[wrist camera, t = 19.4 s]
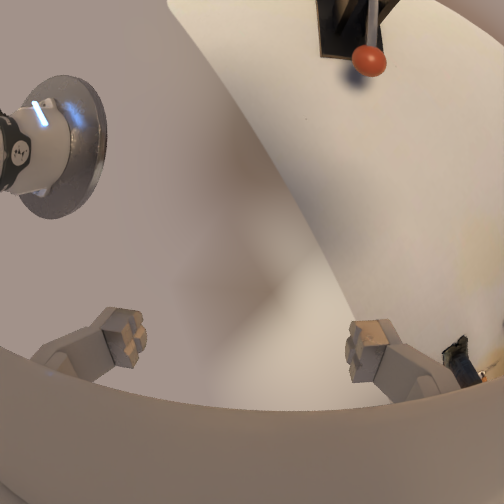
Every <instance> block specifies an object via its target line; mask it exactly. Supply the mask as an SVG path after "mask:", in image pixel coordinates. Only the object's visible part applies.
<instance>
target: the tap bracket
mask: <svg viewBox="0 0 504 504" xmlns="http://www.w3.org/2000/svg"><path fill="white" fill-rule="evenodd" d="M399 1H400V0H378V26H377V43H376V47H377V48H378V49H380V50H381V51H382V52H383V44H382V36H381V29H380V23H381V22H382V21H383V20H384V19H385V17H386V16H387V15H388V14H389V13H390V11H391V10H392V9H393V8H394V7H395V5H396V4H397V3H398V2H399ZM316 7H317V17H318V28H319V41H320V57H328V58H338V59H347V60H352V54H353V52H354V50H355V49H356V48H357V47H359V46H362V45H365V31H366V0H316ZM383 54H384V52H383Z"/></svg>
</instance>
